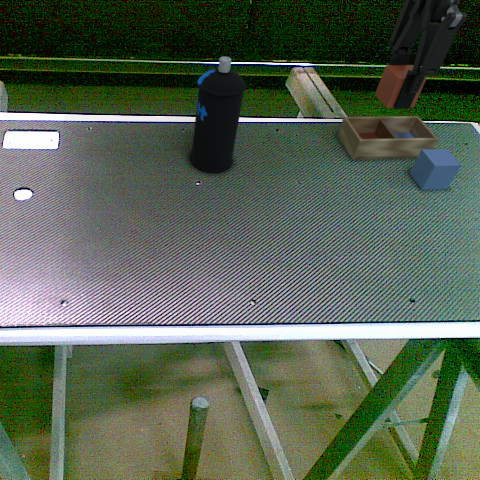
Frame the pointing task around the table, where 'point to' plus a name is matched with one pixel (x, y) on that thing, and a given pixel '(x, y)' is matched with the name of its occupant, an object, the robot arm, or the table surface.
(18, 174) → the table surface
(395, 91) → the terracotta block
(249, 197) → the table surface
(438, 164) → the blue block
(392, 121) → the tray
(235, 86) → the aerosol can
